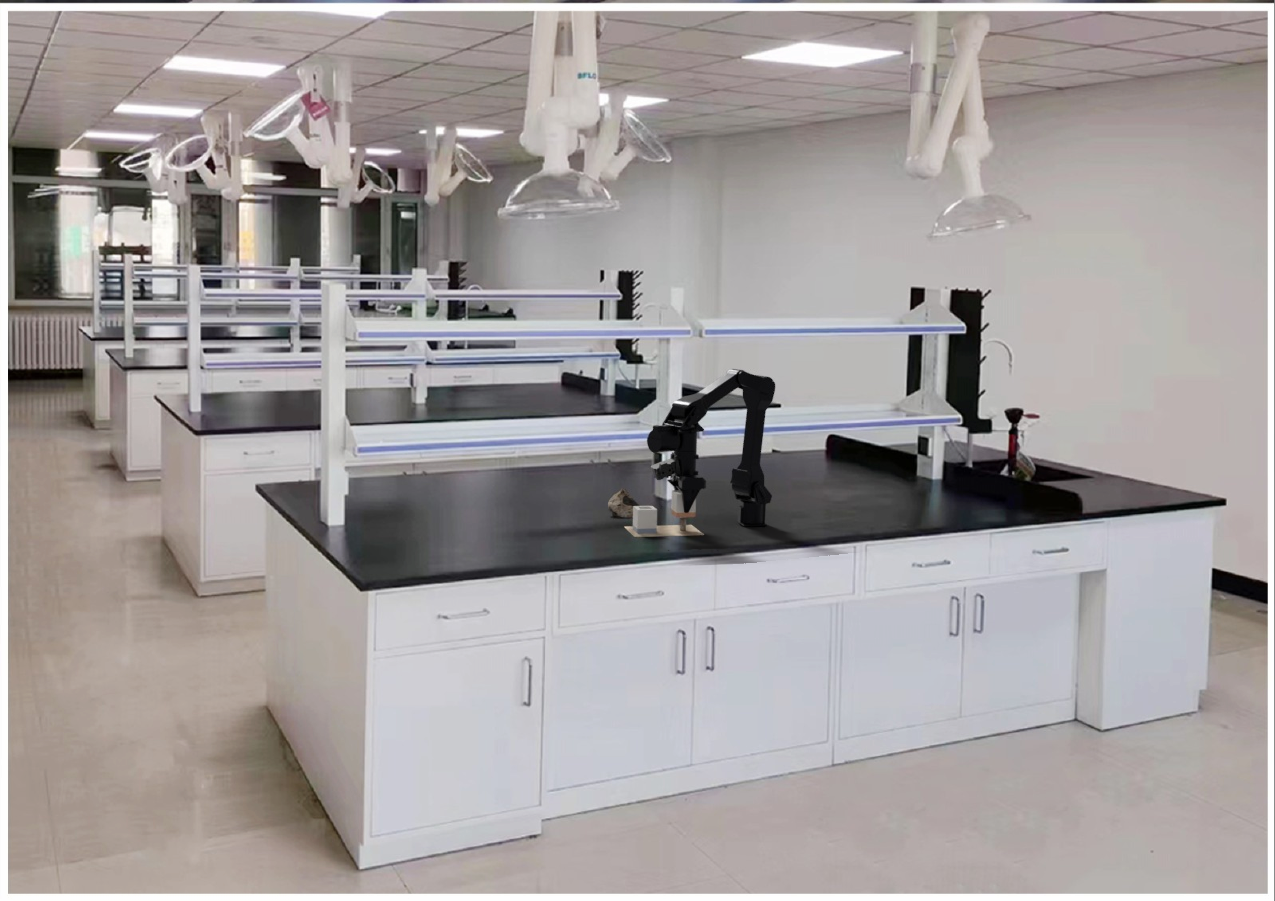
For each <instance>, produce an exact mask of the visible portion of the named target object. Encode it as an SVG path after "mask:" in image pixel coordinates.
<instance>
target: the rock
mask: <svg viewBox="0 0 1275 901" xmlns="http://www.w3.org/2000/svg"><path fill="white" fill-rule="evenodd" d="M607 505H608V506H607V507H608V508H607V509H608V510H609V512H611V514H612V516H613V517H621V518H625V519H627V518H633V506H641V505H640V504H639V503H638V502H637V501H636V500H635V499H634V498H633V497H632V496H631V495H630V493H629V492H628V491H627V489H620V490H619V491H618V492H617V493H615V494H613V496H612V497H611V498H609V500H608V503H607Z"/></svg>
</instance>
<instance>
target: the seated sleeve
mask: <svg viewBox="0 0 1275 901" xmlns="http://www.w3.org/2000/svg"><path fill="white" fill-rule="evenodd" d="M632 526H633V530H634V531H635V532H636V533H637V534H642V533H657V526H658V508H656V507H654V506H653V505H640V506H633V517H632Z"/></svg>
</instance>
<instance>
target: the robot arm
mask: <svg viewBox="0 0 1275 901" xmlns="http://www.w3.org/2000/svg"><path fill="white" fill-rule="evenodd" d="M737 389H740V390H742V400H743V401H744V405H745V406H746V416H745V422H744V423H745V426H744V433H743V444H742V453H741V459H740V460H741V461H740V464H739V465H738V466H737V468H736V467H733V468H732V469H731V480H730V484H731V490H732V491H733V492H734V497H735V500H738V501H739V505H738V506H737V521H736V522H737V523H738V524H740V525H742V526H743V527H762V526H763V527H767V526H768V523H766V513H767V512H766V508H767V507H766V506H767V504H770V503H771V502H772V497H773V495H772V493H771V492H770V491H769V489H768V488H767V487H766V486H765V474H764V471H763V469H762V466H761V457H762V449H763V440H764V432H765V431H764V429H765V423H766V422H765V420H766V413H767V409H768V408H769V406H770V405H771V404H772V403H773V400H774V396H775V392H776V382H774V379H773V378H771V377H769V376H764V375H760V374H758V375H757V374H752V373H749V372H747V371H745V370H743V369H736V368H731V369H729V370H727V371H726V373H724V374H723V375H722V376H720V377H718V378H717V379H716V380H715V381H713V382H712V383H710V384H709V385H707V386H705V387H703V389H701V390H699V391H698V392H695V393H694V394H690V395H685V396H683V397H680V398H678V399H676V400H674V402H672V405H671V409H670V410H669V412H668V413H667V416H666V417H665V419H664V420H663V422H662V424H661V425H659V424H656V425H655V424H654V425H653V426H652V430H651V431H650V432H648V435H647V438H646V443H647V444H646V445H647V448H648V449H649V451H650V452H652V453H653V454H656V453H657V454H658V453H668V452H671V453H670V458H669V459H665V460H662V461H659V462H657V463H653V464H652V465H651V466H650V469H651V472H652V474H653V478H654V479H655V480H657V481H661V480H663V479H665V478H666V479H667V482H668V483H669V484H670V485H671V487H673V489H674V490H680V491H681V493H682V500H683V508H684V512H685V513H688V512H689V511H690V509H691V507H692V505H693V503H694V501H695V499H696V500H697V496H698V495H699V494H700V492H701V490H704V489H706V488H707V480H706V479H705V478H704V477H702V476H701V475H700V474H699V471H698V470H697V460H699V454H697V453H698V452H697V451H698V450H697V449H698V448H697V446H698V442H697V441H698V433H699V432H704V431H705V429H704V427H702V426H701V424H700V423H699V422H700V421H701V420H703V418H704V417H705V416H706V415H707V413H708V410H709V409H710V408H711V407H712V406H713V405H715V404H716V403H718V402H719V401H720V400H723V398H725V397H726V396H728V395H729V394H731V393H732V392H734V391H735V390H737ZM669 477H670V479H669Z"/></svg>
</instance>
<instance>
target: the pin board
mask: <svg viewBox="0 0 1275 901" xmlns="http://www.w3.org/2000/svg"><path fill="white" fill-rule="evenodd" d="M624 528H625V530H627V532H628V533H630V534H631V535H632V536H633V537H634V538H644V537H645V538H646V537H647V538H648V537H650V538H651V537H654V538H655V537H681V536H682V537H683V536H685V537H687V536H705V534H704V533H703V532H701V531H700V530H699V529H698V528H696V527H695V526H694V525H692V524H687V517H679V524H672V525H669V524H667V525H657V533H642V534H637V533H636V532H635V531H634V530H633V525H631V526H624Z"/></svg>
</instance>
